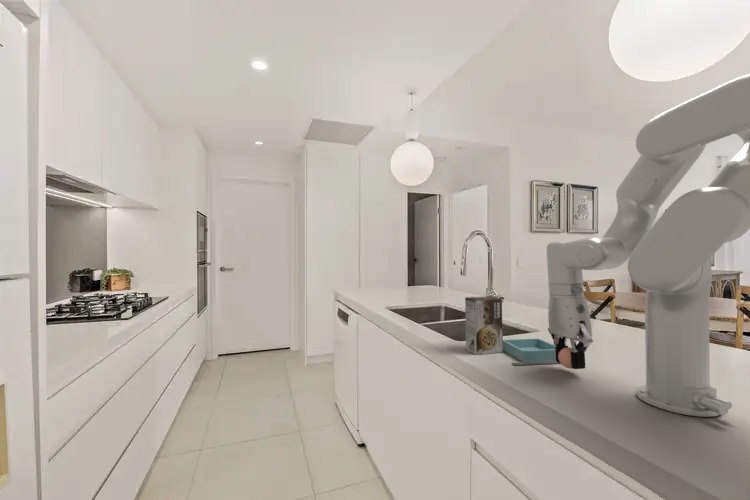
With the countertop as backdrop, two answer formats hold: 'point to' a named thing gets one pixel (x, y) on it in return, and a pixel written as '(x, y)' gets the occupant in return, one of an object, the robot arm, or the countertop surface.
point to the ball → (565, 357)
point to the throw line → (535, 363)
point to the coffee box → (484, 325)
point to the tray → (530, 349)
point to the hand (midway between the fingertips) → (570, 364)
